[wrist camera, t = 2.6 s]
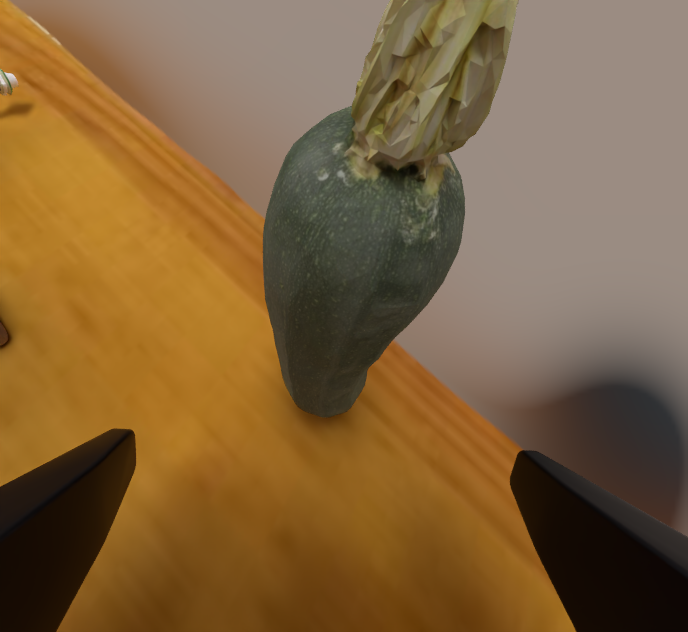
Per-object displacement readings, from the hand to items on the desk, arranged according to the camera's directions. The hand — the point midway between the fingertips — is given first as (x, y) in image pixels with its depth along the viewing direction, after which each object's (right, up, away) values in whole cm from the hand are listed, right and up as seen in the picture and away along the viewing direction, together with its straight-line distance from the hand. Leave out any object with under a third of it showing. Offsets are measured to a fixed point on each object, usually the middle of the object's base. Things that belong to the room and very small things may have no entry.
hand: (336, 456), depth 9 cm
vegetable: (-2, -1, +12) cm, 12 cm away
